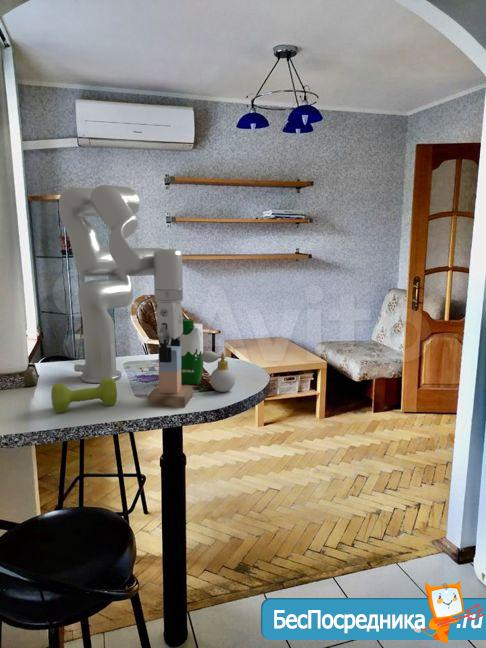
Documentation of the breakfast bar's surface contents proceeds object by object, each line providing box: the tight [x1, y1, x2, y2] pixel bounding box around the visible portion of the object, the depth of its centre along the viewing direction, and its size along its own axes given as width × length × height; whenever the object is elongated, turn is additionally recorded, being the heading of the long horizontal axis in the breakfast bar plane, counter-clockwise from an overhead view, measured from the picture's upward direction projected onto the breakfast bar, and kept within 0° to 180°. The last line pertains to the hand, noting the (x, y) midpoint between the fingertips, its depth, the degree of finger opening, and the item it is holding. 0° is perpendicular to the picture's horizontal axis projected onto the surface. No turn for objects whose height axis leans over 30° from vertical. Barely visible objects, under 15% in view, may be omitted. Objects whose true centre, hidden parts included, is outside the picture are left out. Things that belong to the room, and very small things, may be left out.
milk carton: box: [178, 318, 204, 385], centre depth 149 cm, size 9×9×20 cm
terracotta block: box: [158, 368, 182, 393], centre depth 131 cm, size 5×5×6 cm
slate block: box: [157, 346, 181, 373], centre depth 130 cm, size 5×5×6 cm
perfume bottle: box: [201, 350, 236, 393], centre depth 140 cm, size 8×10×12 cm
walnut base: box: [147, 383, 193, 408], centre depth 132 cm, size 10×10×3 cm
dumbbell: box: [50, 377, 118, 414], centre depth 126 cm, size 16×8×7 cm, turn 115°
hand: (170, 357), depth 130 cm, fingers open, 9 cm apart
